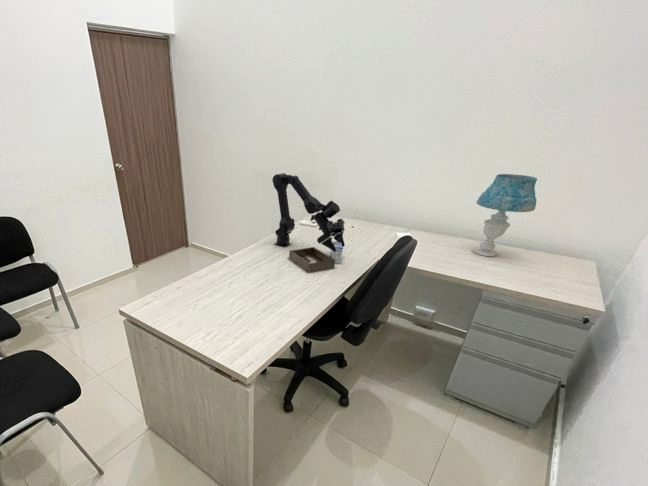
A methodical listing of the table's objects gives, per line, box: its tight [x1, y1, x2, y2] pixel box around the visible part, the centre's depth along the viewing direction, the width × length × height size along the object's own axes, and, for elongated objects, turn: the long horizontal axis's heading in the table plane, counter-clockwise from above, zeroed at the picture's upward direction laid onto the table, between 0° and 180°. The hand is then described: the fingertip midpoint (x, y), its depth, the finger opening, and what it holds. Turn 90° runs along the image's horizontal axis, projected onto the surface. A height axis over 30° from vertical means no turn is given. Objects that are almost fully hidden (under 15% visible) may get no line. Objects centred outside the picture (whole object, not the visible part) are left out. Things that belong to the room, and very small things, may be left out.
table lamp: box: [473, 173, 538, 257], centre depth 169 cm, size 24×24×40 cm
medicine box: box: [330, 241, 344, 264], centre depth 170 cm, size 8×4×9 cm, turn 169°
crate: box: [288, 246, 336, 273], centre depth 167 cm, size 19×15×4 cm
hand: (339, 248), depth 168 cm, fingers closed on medicine box, 9 cm apart
